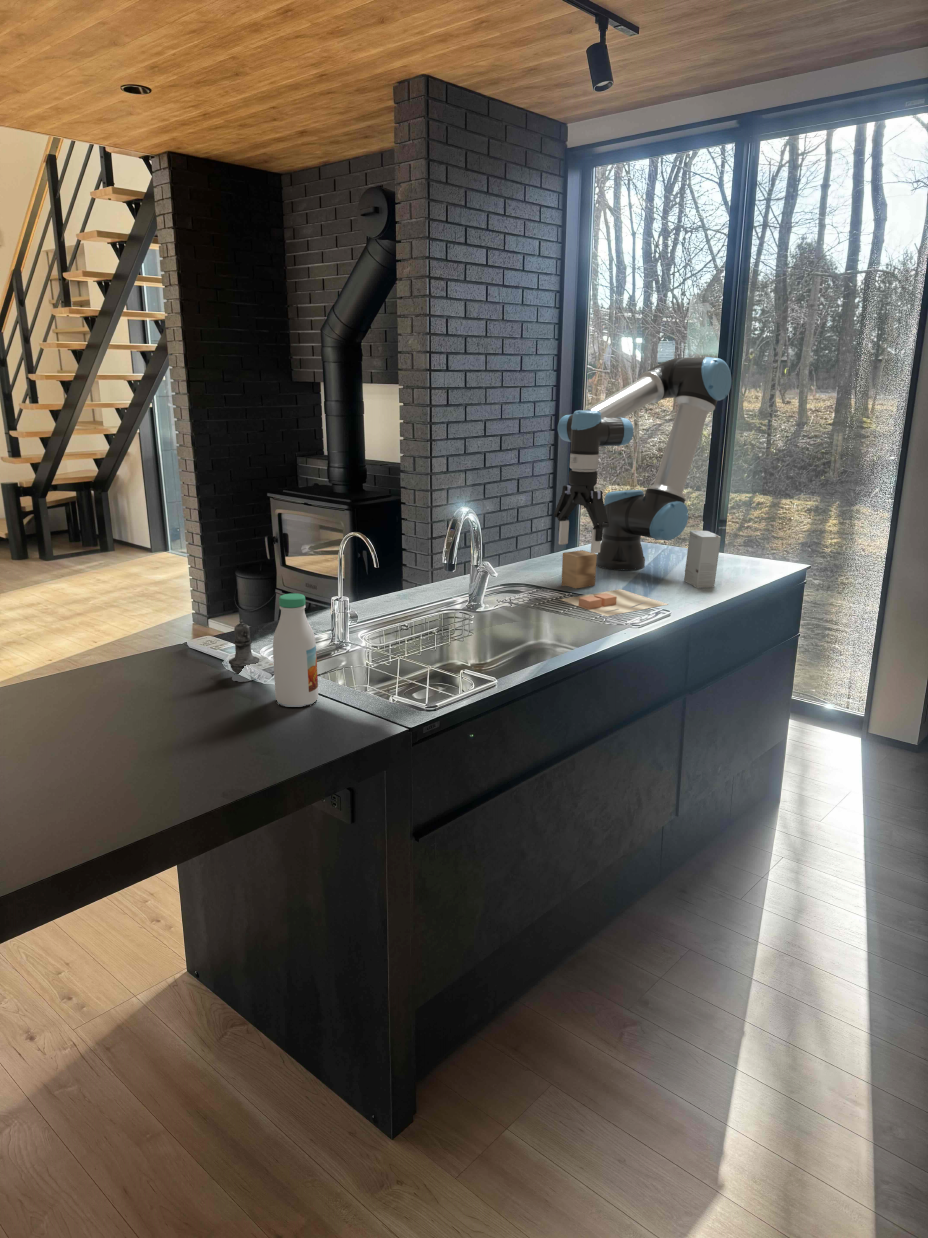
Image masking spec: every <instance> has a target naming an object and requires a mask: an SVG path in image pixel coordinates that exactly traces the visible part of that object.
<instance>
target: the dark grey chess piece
mask: <svg viewBox="0 0 928 1238" xmlns="http://www.w3.org/2000/svg"><path fill="white" fill-rule="evenodd" d="M233 632H234V641H233V645H234V646H235V647H234V649H235V654H234V657H232V658H230V659H229V660H228V664H229V665H230V669H231V670H232V672H234V673H235V674H239V673H240V672H241V671H242V669H243V668H244V666H246V665H250V664H256V663H258V664H259V662H260V658H259V657H257V656H254V655H253V653H252V645H251V644H252V643H253V640H251V632H250V626H249V624H246V623H245V622H244V620H243V619H240V620H239V623H238V624H237V625H235V626H234V631H233Z"/></svg>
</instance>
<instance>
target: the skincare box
mask: <svg viewBox="0 0 928 1238" xmlns="http://www.w3.org/2000/svg"><path fill="white" fill-rule="evenodd" d="M721 539H722V537H721V536H719V535H718V534H716V533H714V532H711V531H709V530H690V531H689V539H688V547H687V553H686V562H685V567H684V568H685V569H684V576H683V577H684V578H683V581H684V582H685V583H687V584H690V585H691V586H693V587H694V588H696V589H697V588H701V589H702V588H715V585H716V578H717V576H716V575H717V568H718V563H719V562H718V561H719V554H720V547H721Z"/></svg>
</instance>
